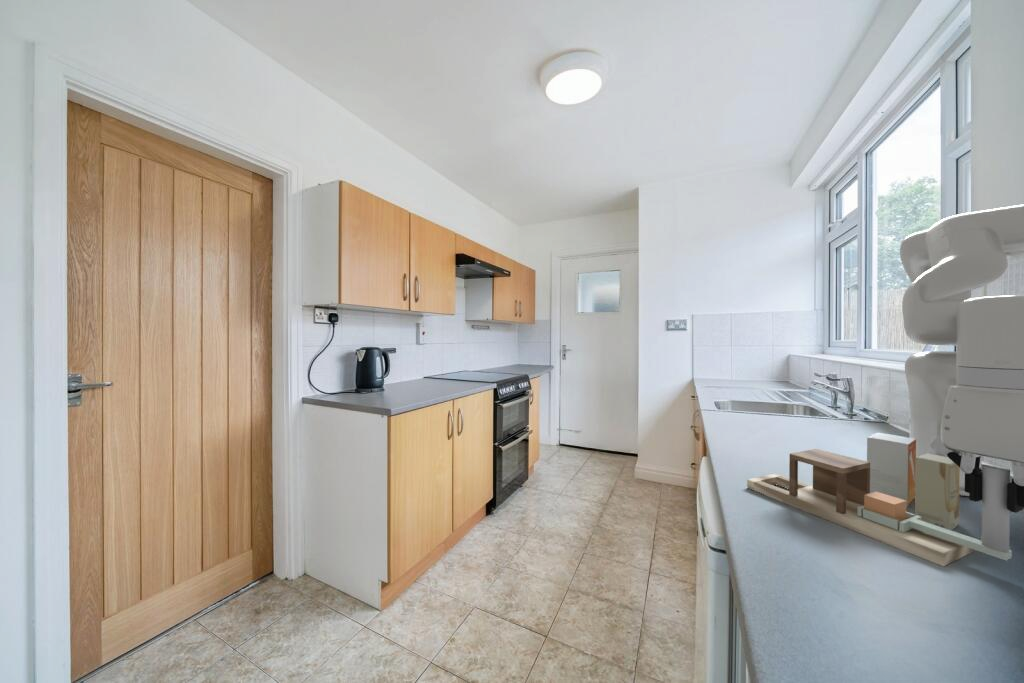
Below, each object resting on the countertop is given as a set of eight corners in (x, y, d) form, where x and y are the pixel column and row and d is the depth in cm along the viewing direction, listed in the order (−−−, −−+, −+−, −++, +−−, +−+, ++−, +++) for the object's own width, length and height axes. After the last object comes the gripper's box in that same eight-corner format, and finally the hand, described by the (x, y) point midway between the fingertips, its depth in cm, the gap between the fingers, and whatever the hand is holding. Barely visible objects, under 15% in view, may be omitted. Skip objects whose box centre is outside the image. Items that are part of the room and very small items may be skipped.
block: (876, 512, 66) (876, 491, 66) (906, 523, 62) (906, 500, 62) (864, 516, 64) (864, 494, 64) (894, 527, 60) (894, 504, 60)
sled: (875, 509, 66) (876, 439, 66) (1017, 557, 52) (1018, 467, 52) (857, 515, 64) (858, 442, 64) (1000, 567, 50) (1001, 473, 50)
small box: (908, 507, 72) (909, 444, 72) (865, 495, 77) (866, 436, 77) (916, 497, 76) (917, 438, 76) (875, 487, 82) (875, 431, 82)
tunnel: (815, 487, 77) (815, 448, 77) (869, 505, 68) (870, 462, 68) (789, 494, 73) (789, 453, 73) (842, 514, 65) (843, 468, 65)
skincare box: (949, 533, 62) (950, 464, 62) (913, 521, 66) (914, 457, 66) (960, 524, 65) (961, 458, 65) (925, 514, 69) (926, 452, 69)
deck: (775, 481, 85) (775, 473, 85) (972, 551, 57) (973, 539, 57) (747, 488, 81) (747, 479, 81) (943, 566, 53) (943, 553, 53)
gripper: (1113, 386, 45) (1111, 527, 46) (928, 374, 61) (927, 480, 61) (1095, 388, 43) (1092, 539, 43) (906, 375, 58) (905, 487, 58)
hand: (995, 503), depth 52 cm, fingers open, 2 cm apart
